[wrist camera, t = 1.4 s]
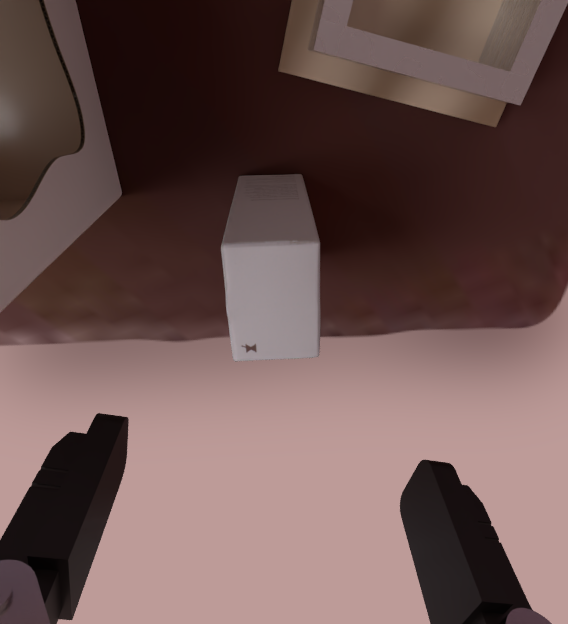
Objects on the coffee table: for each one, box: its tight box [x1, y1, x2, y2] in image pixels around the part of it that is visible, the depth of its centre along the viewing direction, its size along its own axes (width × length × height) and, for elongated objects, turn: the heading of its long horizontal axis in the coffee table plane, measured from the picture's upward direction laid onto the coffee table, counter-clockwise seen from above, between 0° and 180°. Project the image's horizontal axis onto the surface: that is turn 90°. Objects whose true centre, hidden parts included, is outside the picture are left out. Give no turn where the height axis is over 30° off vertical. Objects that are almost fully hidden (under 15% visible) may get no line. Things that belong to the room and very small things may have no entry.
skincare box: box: [221, 174, 320, 361], centre depth 24 cm, size 6×4×12 cm
